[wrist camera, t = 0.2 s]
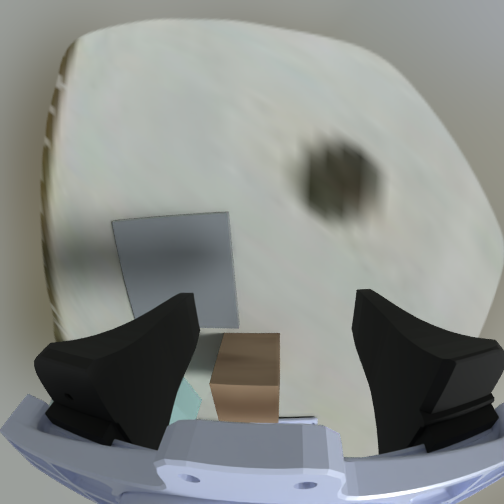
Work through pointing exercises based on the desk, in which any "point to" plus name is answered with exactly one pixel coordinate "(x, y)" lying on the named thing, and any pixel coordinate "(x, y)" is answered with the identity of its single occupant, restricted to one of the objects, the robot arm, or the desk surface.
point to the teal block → (185, 403)
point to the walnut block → (247, 378)
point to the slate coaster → (180, 264)
